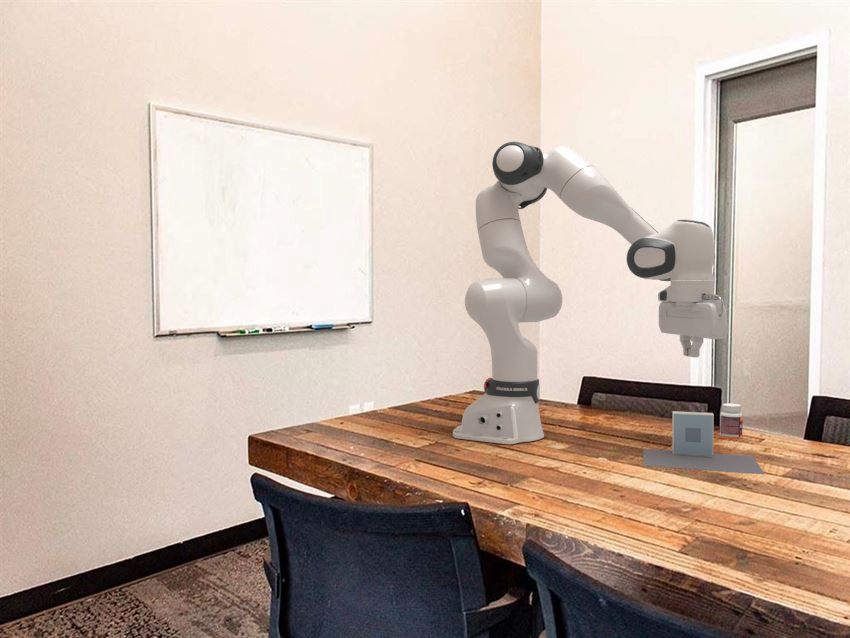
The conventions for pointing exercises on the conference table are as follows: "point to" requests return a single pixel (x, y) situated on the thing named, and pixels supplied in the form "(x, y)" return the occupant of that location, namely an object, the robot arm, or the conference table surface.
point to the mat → (702, 461)
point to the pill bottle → (731, 421)
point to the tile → (692, 433)
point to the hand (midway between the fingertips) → (691, 356)
